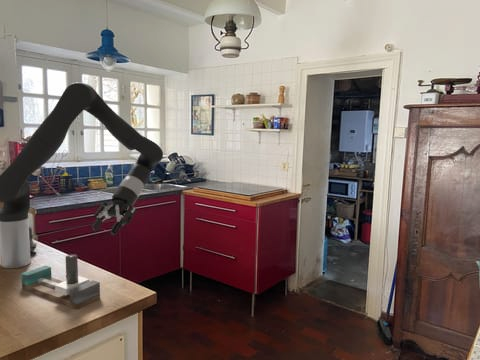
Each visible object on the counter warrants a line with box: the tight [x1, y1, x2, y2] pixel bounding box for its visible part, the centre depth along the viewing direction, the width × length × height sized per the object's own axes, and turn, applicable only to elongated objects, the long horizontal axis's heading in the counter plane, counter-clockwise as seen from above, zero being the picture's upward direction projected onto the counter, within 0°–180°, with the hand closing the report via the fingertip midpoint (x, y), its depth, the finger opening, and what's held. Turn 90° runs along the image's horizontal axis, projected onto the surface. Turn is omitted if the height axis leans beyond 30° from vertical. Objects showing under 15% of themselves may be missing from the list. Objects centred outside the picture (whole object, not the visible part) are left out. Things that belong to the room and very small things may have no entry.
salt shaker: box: [29, 226, 37, 257], centre depth 145 cm, size 6×6×12 cm
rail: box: [20, 265, 101, 310], centre depth 112 cm, size 26×8×5 cm, turn 62°
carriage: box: [55, 254, 90, 295], centre depth 108 cm, size 5×8×10 cm, turn 152°
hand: (103, 231), depth 117 cm, fingers open, 8 cm apart
